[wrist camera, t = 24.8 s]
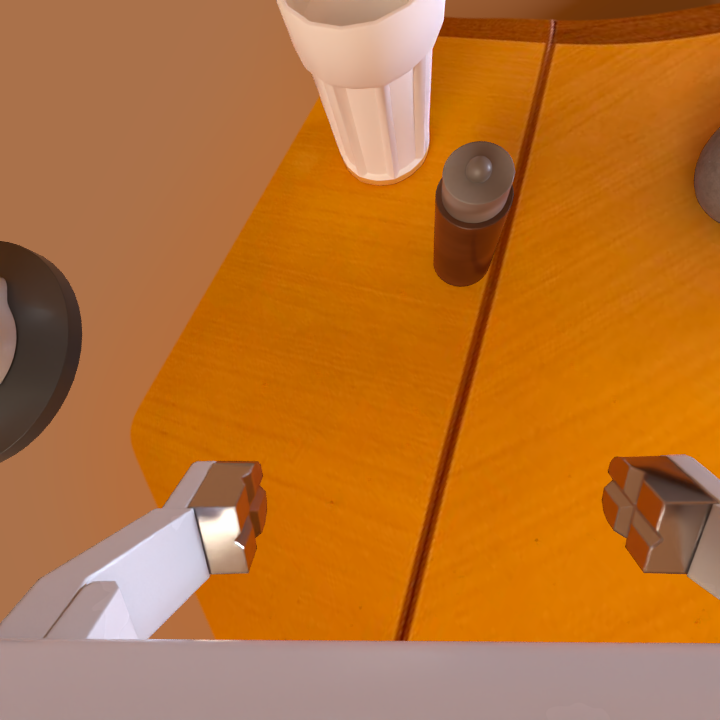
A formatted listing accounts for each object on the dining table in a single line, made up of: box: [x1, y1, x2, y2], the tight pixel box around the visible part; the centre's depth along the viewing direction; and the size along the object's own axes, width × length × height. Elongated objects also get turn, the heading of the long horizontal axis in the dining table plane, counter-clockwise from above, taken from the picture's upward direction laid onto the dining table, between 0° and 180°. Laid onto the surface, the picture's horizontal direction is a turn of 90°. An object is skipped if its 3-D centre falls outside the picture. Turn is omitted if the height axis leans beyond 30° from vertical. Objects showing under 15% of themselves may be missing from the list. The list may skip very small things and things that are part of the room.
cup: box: [276, 0, 445, 185], centre depth 34 cm, size 11×11×17 cm
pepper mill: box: [434, 141, 515, 287], centre depth 32 cm, size 5×5×14 cm
